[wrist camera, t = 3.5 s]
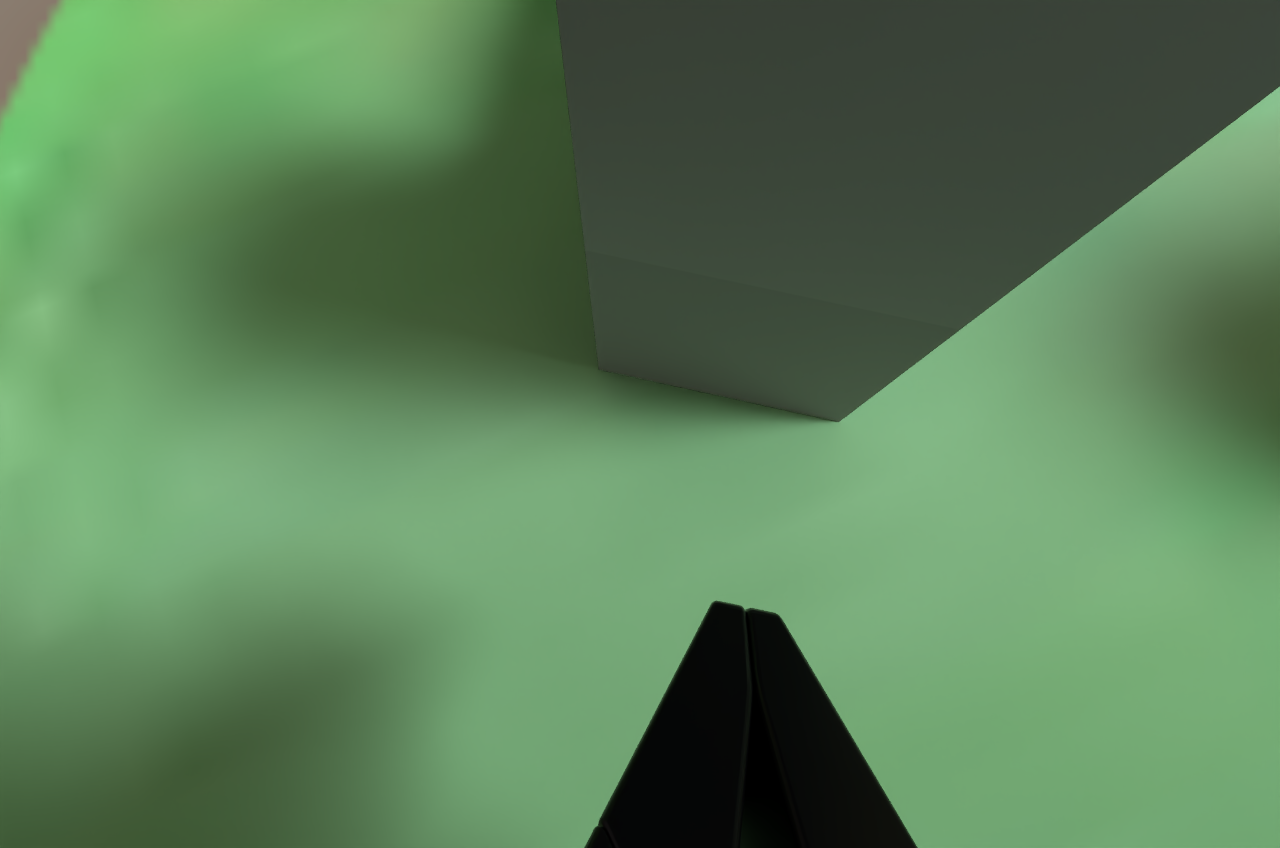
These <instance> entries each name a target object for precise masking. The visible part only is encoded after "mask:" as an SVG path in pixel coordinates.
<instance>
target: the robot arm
mask: <svg viewBox="0 0 1280 848" xmlns="http://www.w3.org/2000/svg"><path fill="white" fill-rule="evenodd" d="M585 848H917V846H916V844H915V843H914V841H913V839H912V838H911V836H910V834H909V833H908V831H907V829H906V828H905V826H904V824H903V822H902V821H901V819H900V817H899V816H898V814H897V812H896V811H895V809H894V807H893V806H892V804H891V802H890V800H889V799H888V797H887V795H886V794H885V792H884V790H883V789H882V787H881V785H880V784H879V782H878V780H877V779H876V777H875V775H874V773H873V772H872V770H871V768H870V767H869V765H868V763H867V762H866V760H865V758H864V757H863V755H862V753H861V752H860V750H859V748H858V746H857V745H856V743H855V741H854V740H853V738H852V736H851V735H850V733H849V731H848V730H847V728H846V726H845V725H844V723H843V721H842V719H841V718H840V716H839V714H838V713H837V711H836V709H835V708H834V706H833V704H832V703H831V701H830V699H829V698H828V696H827V694H826V692H825V691H824V689H823V687H822V686H821V684H820V682H819V681H818V679H817V677H816V676H815V674H814V672H813V671H812V669H811V667H810V665H809V664H808V662H807V660H806V659H805V657H804V655H803V654H802V652H801V650H800V649H799V647H798V645H797V643H796V642H795V640H794V638H793V637H792V635H791V633H790V632H789V630H788V628H787V627H786V625H785V623H784V622H783V620H782V618H781V617H780V616H779V615H778V614H776V613H773V612H768V611H764V610H759V609H754V608H749V609H746V610H744V608H743V607H742V606H740V605H735V604H730V603H726V602H721V601H714V602H713V603H712V604H711V605H710V607H709V609H708V611H707V613H706V615H705V617H704V619H703V621H702V623H701V625H700V627H699V628H698V630H697V632H696V634H695V636H694V638H693V640H692V642H691V644H690V646H689V648H688V650H687V652H686V654H685V655H684V657H683V659H682V661H681V663H680V665H679V667H678V669H677V671H676V673H675V675H674V677H673V679H672V681H671V683H670V684H669V686H668V688H667V690H666V692H665V694H664V696H663V698H662V700H661V702H660V704H659V706H658V708H657V710H656V711H655V713H654V715H653V717H652V719H651V721H650V723H649V725H648V727H647V729H646V731H645V733H644V735H643V737H642V739H641V740H640V742H639V744H638V746H637V748H636V750H635V752H634V754H633V756H632V758H631V760H630V762H629V764H628V766H627V767H626V769H625V771H624V773H623V775H622V777H621V779H620V781H619V783H618V785H617V787H616V789H615V791H614V793H613V795H612V796H611V798H610V800H609V802H608V804H607V806H606V808H605V810H604V812H603V814H602V816H601V818H600V820H599V823H598V826H597V827H595V828H594V830H593V832H592V834H591V836H590V838H589V840H588V842H587V844H586V846H585Z"/></svg>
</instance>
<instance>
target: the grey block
mask: <svg viewBox="0 0 1280 848" xmlns="http://www.w3.org/2000/svg"><path fill="white" fill-rule="evenodd" d="M556 5H557V14H558V23H559V31H560V40H561V49H562V57H563V66H564V74H565V83H566V92H567V100H568V109H569V118H570V126H571V135H572V143H573V152H574V161H575V169H576V178H577V187H578V195H579V204H580V212H581V221H582V230H583V238H584V247H585V256H586V264H587V273H588V281H589V290H590V299H591V307H592V316H593V325H594V333H595V342H596V350H597V359H598V368H599V370H603V371H607V372H612V373H617V374H621V375H626V376H630V377H635V378H640V379H644V380H649V381H653V382H658V383H663V384H667V385H672V386H676V387H681V388H686V389H690V390H695V391H699V392H704V393H709V394H713V395H718V396H722V397H727V398H732V399H736V400H741V401H745V402H750V403H755V404H759V405H764V406H768V407H773V408H778V409H782V410H787V411H791V412H796V413H801V414H805V415H810V416H814V417H819V418H824V419H828V420H833V421H837V422H840V421H841V420H842V419H843V418H845V417H846V416H847V415H849V414H850V413H851V412H853V411H854V410H855V409H857V408H858V407H859V406H861V405H862V404H863V403H865V402H866V401H867V400H868V399H870V398H871V397H872V396H874V395H875V394H876V393H878V392H879V391H880V390H882V389H883V388H884V387H886V386H887V385H888V384H889V383H891V382H892V381H893V380H895V379H896V378H897V377H899V376H900V375H901V374H903V373H904V372H905V371H907V370H908V369H909V368H910V367H912V366H913V365H914V364H916V363H917V362H918V361H920V360H921V359H922V358H924V357H925V356H926V355H928V354H929V353H930V352H931V351H933V350H934V349H935V348H937V347H938V346H939V345H941V344H942V343H943V342H945V341H946V340H947V339H949V338H950V337H951V336H953V335H954V334H955V333H956V332H958V331H959V330H960V329H962V328H963V327H964V326H966V325H967V324H968V323H970V322H971V321H972V320H974V319H975V318H976V317H977V316H979V315H980V314H981V313H983V312H984V311H985V310H987V309H988V308H989V307H991V306H992V305H993V304H995V303H996V302H997V301H998V300H1000V299H1001V298H1002V297H1004V296H1005V295H1006V294H1008V293H1009V292H1010V291H1012V290H1013V289H1014V288H1016V287H1017V286H1018V285H1019V284H1021V283H1022V282H1023V281H1025V280H1026V279H1027V278H1029V277H1030V276H1031V275H1033V274H1034V273H1035V272H1037V271H1038V270H1039V269H1041V268H1042V267H1043V266H1044V265H1046V264H1047V263H1048V262H1050V261H1051V260H1052V259H1054V258H1055V257H1056V256H1058V255H1059V254H1060V253H1062V252H1063V251H1064V250H1065V249H1067V248H1068V247H1069V246H1071V245H1072V244H1073V243H1075V242H1076V241H1077V240H1079V239H1080V238H1081V237H1083V236H1084V235H1085V234H1086V233H1088V232H1089V231H1090V230H1092V229H1093V228H1094V227H1096V226H1097V225H1098V224H1100V223H1101V222H1102V221H1104V220H1105V219H1106V218H1107V217H1109V216H1110V215H1111V214H1113V213H1114V212H1115V211H1117V210H1118V209H1119V208H1121V207H1122V206H1123V205H1125V204H1126V203H1127V202H1129V201H1130V200H1131V199H1132V198H1134V197H1135V196H1136V195H1138V194H1139V193H1140V192H1142V191H1143V190H1144V189H1146V188H1147V187H1148V186H1150V185H1151V184H1152V183H1153V182H1155V181H1156V180H1157V179H1159V178H1160V177H1161V176H1163V175H1164V174H1165V173H1167V172H1168V171H1169V170H1171V169H1172V168H1173V167H1174V166H1176V165H1177V164H1178V163H1180V162H1181V161H1182V160H1184V159H1185V158H1186V157H1188V156H1189V155H1190V154H1192V153H1193V152H1194V151H1196V150H1197V149H1198V148H1199V147H1201V146H1202V145H1203V144H1205V143H1206V142H1207V141H1209V140H1210V139H1211V138H1213V137H1214V136H1215V135H1217V134H1218V133H1219V132H1220V131H1222V130H1223V129H1224V128H1226V127H1227V126H1228V125H1230V124H1231V123H1232V122H1234V121H1235V120H1236V119H1238V118H1239V117H1240V116H1241V115H1243V114H1244V113H1245V112H1247V111H1248V110H1249V109H1251V108H1252V107H1253V106H1255V105H1256V104H1257V103H1259V102H1260V101H1261V100H1262V99H1264V98H1265V97H1266V96H1268V95H1269V94H1270V93H1272V92H1273V91H1274V90H1276V89H1277V88H1278V87H1280V0H556Z"/></svg>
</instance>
